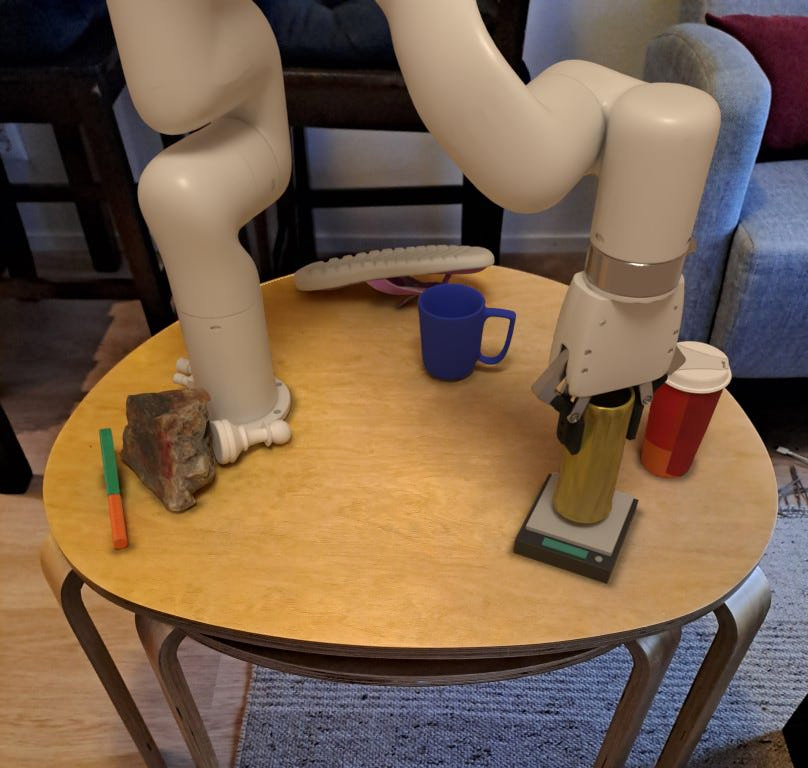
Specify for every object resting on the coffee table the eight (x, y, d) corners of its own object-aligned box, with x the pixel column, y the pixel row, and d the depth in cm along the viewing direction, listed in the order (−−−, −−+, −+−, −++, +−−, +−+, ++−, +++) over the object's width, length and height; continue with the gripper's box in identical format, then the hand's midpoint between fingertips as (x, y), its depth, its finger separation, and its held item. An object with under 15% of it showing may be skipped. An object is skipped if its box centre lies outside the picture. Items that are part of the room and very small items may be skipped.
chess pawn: (225, 454, 90) (301, 441, 93) (212, 413, 91) (288, 401, 94) (218, 471, 94) (291, 457, 98) (206, 431, 95) (279, 419, 99)
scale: (513, 552, 84) (515, 535, 82) (546, 486, 91) (549, 468, 89) (607, 584, 81) (611, 567, 79) (635, 512, 88) (639, 495, 86)
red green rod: (112, 451, 95) (96, 453, 94) (109, 416, 90) (93, 417, 89) (131, 558, 87) (114, 561, 87) (129, 525, 82) (112, 528, 82)
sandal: (492, 232, 116) (497, 283, 120) (298, 258, 121) (308, 307, 124) (493, 250, 105) (497, 305, 109) (279, 278, 110) (290, 330, 113)
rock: (227, 395, 94) (152, 360, 87) (251, 471, 87) (170, 440, 80) (168, 464, 99) (92, 436, 92) (185, 541, 92) (104, 517, 85)
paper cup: (700, 446, 95) (735, 344, 85) (698, 490, 90) (734, 387, 80) (633, 434, 97) (658, 333, 86) (627, 477, 92) (653, 375, 81)
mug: (506, 394, 102) (513, 325, 95) (412, 383, 104) (411, 315, 96) (513, 357, 108) (520, 289, 100) (423, 347, 109) (424, 279, 102)
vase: (548, 518, 82) (568, 407, 72) (555, 478, 86) (575, 367, 76) (609, 528, 81) (638, 417, 71) (613, 487, 85) (642, 375, 75)
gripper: (699, 223, 68) (653, 396, 82) (515, 259, 65) (497, 434, 78) (754, 265, 64) (695, 442, 77) (558, 307, 60) (531, 485, 73)
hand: (596, 436), depth 77 cm, fingers closed on vase, 5 cm apart
